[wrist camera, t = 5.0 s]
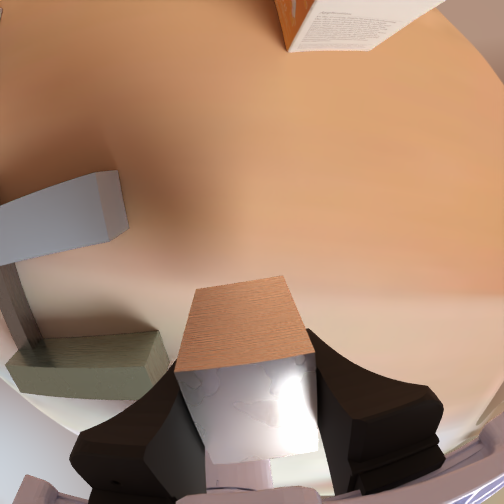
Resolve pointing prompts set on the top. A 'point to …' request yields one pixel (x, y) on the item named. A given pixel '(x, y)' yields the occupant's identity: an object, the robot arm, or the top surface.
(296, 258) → the top surface
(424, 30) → the top surface
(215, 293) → the steel block
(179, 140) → the top surface
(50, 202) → the grey rectangular bar
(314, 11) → the small box
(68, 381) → the vise
